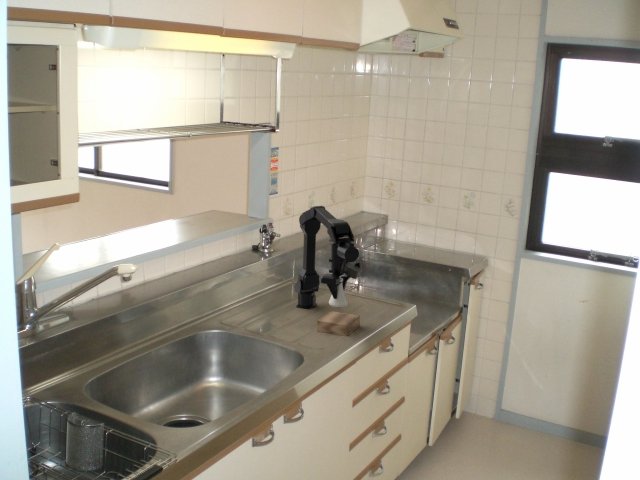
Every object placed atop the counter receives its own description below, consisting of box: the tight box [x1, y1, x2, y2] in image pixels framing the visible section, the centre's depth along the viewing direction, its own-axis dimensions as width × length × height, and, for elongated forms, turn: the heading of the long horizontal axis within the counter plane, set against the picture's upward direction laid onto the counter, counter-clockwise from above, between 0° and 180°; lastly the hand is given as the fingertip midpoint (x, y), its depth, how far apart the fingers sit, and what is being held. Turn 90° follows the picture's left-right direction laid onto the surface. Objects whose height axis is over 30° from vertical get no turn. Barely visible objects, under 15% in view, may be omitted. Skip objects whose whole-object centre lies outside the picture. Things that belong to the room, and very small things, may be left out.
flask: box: [328, 278, 349, 308], centre depth 256 cm, size 7×7×10 cm
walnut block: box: [316, 311, 361, 337], centre depth 259 cm, size 12×12×4 cm
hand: (338, 296), depth 257 cm, fingers closed on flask, 5 cm apart
